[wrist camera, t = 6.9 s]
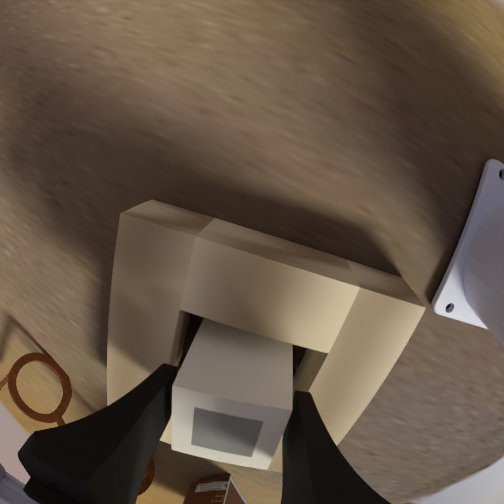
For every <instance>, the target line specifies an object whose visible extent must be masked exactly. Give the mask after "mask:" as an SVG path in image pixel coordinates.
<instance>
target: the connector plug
mask: <svg viewBox="0 0 504 504" xmlns="http://www.w3.org/2000/svg"><path fill="white" fill-rule="evenodd" d="M292 402H293V344H290V343H287V342H283V341H279V340H276V339H272V338H269V337H265V336H262V335H259V334H255V333H252V332H248V331H245V330H242V329H239V328H235V327H232V326H229V325H226V324H223V323H219V322H216V321H213V320H210V319H207V318H204V319H203V321H202V323H201V325H200V327H199V329H198V332H197V334H196V336H195V338H194V340H193V342H192V344H191V346H190V349H189V351H188V353H187V355H186V357H185V359H184V361H183V364H182V366H181V368H180V370H179V372H178V374H177V377H176V379H175V381H174V383H173V385H172V440H171V444H172V450H175V451H179V452H182V453H186V454H190V455H194V456H198V457H202V458H206V459H211V460H215V461H220V462H225V463H230V464H235V465H240V466H246V467H252V468H258V469H265V470H268V467H269V465H270V463H271V461H272V458H273V456H274V454H275V451H276V449H277V447H278V444H279V442H280V440H281V437H282V435H283V432H284V430H285V428H286V425H287V423H288V420H289V418H290V415H291V413H292Z"/></svg>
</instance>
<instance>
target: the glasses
mask: <svg viewBox="0 0 504 504" xmlns="http://www.w3.org/2000/svg"><path fill="white" fill-rule="evenodd" d="M33 361H38V362H42V363H44V364H46V365H47V366H49V367H50V368H51V369H52V370H53V371H54V372H55V373H56V374H57V376H58V377H59V379H60V381H61V383H62V386H63V397H62V400H61V402H60V405H59V406H58V407H57V409H56V410H55V411H54V412H52V413H50V414H41V413H37V412H35V411H33V410H32V409H30V408H29V407H28V406H27V405H26V404H25V403H24V402H23V400H22V399H21V397H20V396H19V393H18V391H17V387H16V378H17V374H18V372H19V370H20V369H21V368H22V367H23V366H24V365H25V364H27V363H29V362H33ZM7 382H8V388H9V392H10V395H11V397H12V399H13V401H14V402H15V404H16V405H17V407H18V408H19V409H20V410H21V411H22V412H23V413H24V414H25V415H27V416H28V417H30V418H31V419H34V420H36V421H39V422H44V423H54V422H57V424H58V426H62V425H65V422H64V420H63V419H62V415H63V414H64V412H65V411H66V409H67V407H68V405H69V403H70V400H71V396H72V389H71V384H70V381H69V379H68V377H67V375H66V373H65V372H64V371H63V369H62V368H61V367H60V366H59V365H58V364H57V363H56V361H54V360H53V359H52V358H50V357H49V356H47V355H45V354H42V353H29V354H26V355H24V356H22V357H21V358H19V359H18V360H17V361H16V362H15V364H14V365H13V366H12V368H11V370H10V372H9V374H8V375H7V376H6V377H5V378H4V379H3V380H2V381H1V382H0V388H2V387H3V386H4V385H5V384H6V383H7ZM0 390H1V389H0ZM154 471H155V467H154V462H153V459H152V457H151V459H150V461H149V464H148V466H147V469H146V474H145V477H144V480H143V481H142V484H141V487H140V490H139V493H138V495H140V494H142V493H144V492H145V491H146V490H147V489H148V488H149V486H150V485H151V483H152V480H153V477H154Z"/></svg>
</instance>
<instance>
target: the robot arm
mask: <svg viewBox="0 0 504 504" xmlns="http://www.w3.org/2000/svg"><path fill="white" fill-rule="evenodd" d="M500 170H501V171H502V176H501V178H500V177H499V172H500ZM450 303H451V305H450V307H449V308H448V309H446V306H447V305H448V304H450ZM431 306H432V309H433V310H434V312H435V313H437V314H439V315H442V316H446V317H449V318H452V319H455V320H459V321H462V322H465V323H469V324H472V325H475V326H479V327H482V328H485V329H489V330H490V331H491V332H492V333H493V335H494V336H495V337H496V338H497V339H498V340H499V341H500V343H501V344H502V345H503V346H504V164H503V163H501V162H500V161H498V160H496V159H489V160H488V161H487V162H486V164H485V167H484V170H483V174H482V177H481V180H480V184H479V187H478V190H477V193H476V196H475V199H474V202H473V205H472V208H471V211H470V214H469V216H468V219H467V222H466V225H465V227H464V230H463V232H462V235H461V238H460V240H459V243H458V245H457V248H456V250H455V252H454V255H453V257H452V259H451V262H450V264H449V266H448V269H447V271H446V273H445V275H444V277H443V280H442V282H441V284H440V286H439V288H438V290H437V292H436V294H435V296H434V298H433V300H432V303H431ZM177 373H178V367H177V366H173V365H169V364H166V363H163V364H161V365H160V366H159V367H158V368H157V369H156V370H155V371H154V372H153V373H152V374H150V375H149V376H148V377H147V378H146V379H145V380H143V381H142V382H141V383H140V384H138V385H137V386H136V387H135V388H133V389H132V390H131V391H129V392H128V393H127V394H125V395H124V396H122V397H121V398H119V399H118V400H116V401H115V402H113V403H112V404H110V405H108V406H107V407H105V408H103V409H101V410H99V411H97V412H95V413H93V414H91V415H89V416H87V417H84V418H82V419H79V420H77V421H74V422H71V423H68V424H65V425H62V426H58V427H54V428H50V429H45V430H40V431H35V432H34V433H33V434H32V435H31V436H30V437H29V438H28V439H27V441H26V442H25V444H24V445H23V446H22V448H21V449H20V450H19V452H18V457H19V460H20V462H21V463H22V465H23V466H24V468H25V469H26V471H27V472H28V474H29V475H30V477H31V478H30V479H29V481H28V482H27V484H26V485H25V484H23V483H22V482H20V481H19V480H17V479H16V478H14V477H13V476H11V475H9V474H8V473H7V472H6V471H5V469H4V467H3V466H2V465H1V464H0V504H135V503H136V500H137V496H138V493H139V490H140V487H141V484H142V481H143V478H144V475H145V472H146V469H147V466H148V464H149V461H150V459H151V457H152V455H153V453H154V451H155V449H156V447H157V445H158V443H159V441H160V439H161V437H162V435H163V433H164V430H165V428H166V426H167V424H168V422H169V420H170V418H171V415H172V385H173V383H174V381H175V379H176V377H177ZM282 470H283V488H282V499H281V504H391V503H389V502H388V501H387V500H385V499H384V498H383V497H381V496H380V495H379V494H378V493H376V492H375V491H374V490H373V489H372V488H371V487H370V486H369V485H368V484H367V483H366V482H365V481H364V480H363V479H362V478H361V477H360V476H359V475H358V474H357V473H356V472H355V471H354V469H353V468H352V467H351V466H350V464H349V463H348V462H347V460H346V459H345V458H344V456H343V455H342V454H341V452H340V451H339V449H338V447H337V446H336V444H335V443H334V441H333V439H332V438H331V436H330V434H329V432H328V430H327V428H326V426H325V424H324V422H323V420H322V418H321V416H320V414H319V412H318V409H317V407H316V405H315V402H314V400H313V397H312V394H311V393H310V392H305V391H297V390H295V393H294V396H293V402H292V413H291V415H290V418H289V420H288V423H287V425H286V428H285V430H284V432H283V438H282Z"/></svg>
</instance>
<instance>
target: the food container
mask: <svg viewBox="0 0 504 504" xmlns="http://www.w3.org/2000/svg"><path fill="white" fill-rule="evenodd" d="M183 504H248V502H247V501H246V499H245V498H244V496H243V494H242V493H241V491H240V489H239V488H238V486H237V484H236V482H235V481H234V479H233V477H232V476H231V474H224V475H213V476H208V477H202V478H200V479H198V480H196V481H194V482H192V484H191V486H190V488H189V490H188V492H187V495H186V497H185V499H184V502H183Z"/></svg>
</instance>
